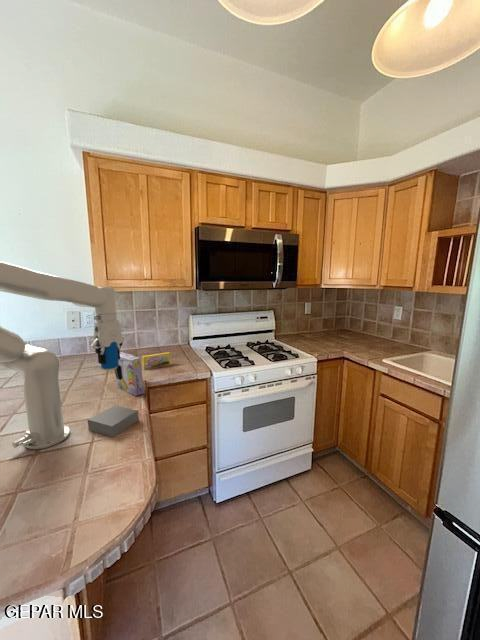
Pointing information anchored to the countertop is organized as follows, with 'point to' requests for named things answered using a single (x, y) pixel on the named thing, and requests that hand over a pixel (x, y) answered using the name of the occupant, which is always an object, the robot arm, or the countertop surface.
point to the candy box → (156, 360)
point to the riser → (113, 420)
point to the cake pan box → (129, 374)
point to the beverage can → (111, 357)
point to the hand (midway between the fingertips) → (109, 360)
